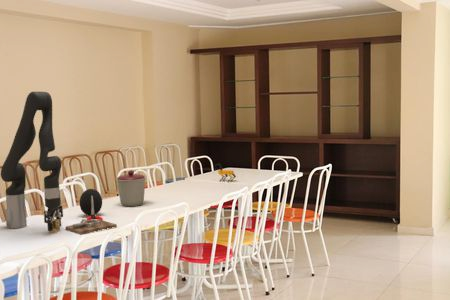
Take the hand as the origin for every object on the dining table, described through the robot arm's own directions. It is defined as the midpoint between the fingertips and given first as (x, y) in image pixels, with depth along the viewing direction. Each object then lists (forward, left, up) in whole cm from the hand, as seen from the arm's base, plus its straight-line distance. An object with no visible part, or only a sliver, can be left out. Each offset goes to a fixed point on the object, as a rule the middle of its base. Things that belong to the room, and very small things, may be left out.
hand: (54, 228), depth 296 cm
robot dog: (+159, +51, -2) cm, 167 cm away
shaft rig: (+16, -8, -2) cm, 18 cm away
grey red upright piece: (+27, +8, -2) cm, 28 cm away
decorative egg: (+32, +20, -2) cm, 38 cm away
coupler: (0, 0, -2) cm, 2 cm away
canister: (+64, +28, -2) cm, 70 cm away
